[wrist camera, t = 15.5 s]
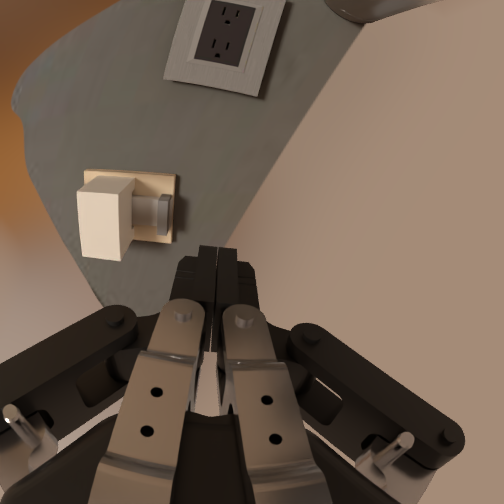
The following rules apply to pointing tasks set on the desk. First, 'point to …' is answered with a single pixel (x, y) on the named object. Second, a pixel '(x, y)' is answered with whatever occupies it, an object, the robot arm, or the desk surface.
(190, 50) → the electrical outlet
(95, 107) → the desk surface
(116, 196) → the white rectangular block
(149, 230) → the rail board
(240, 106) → the desk surface
